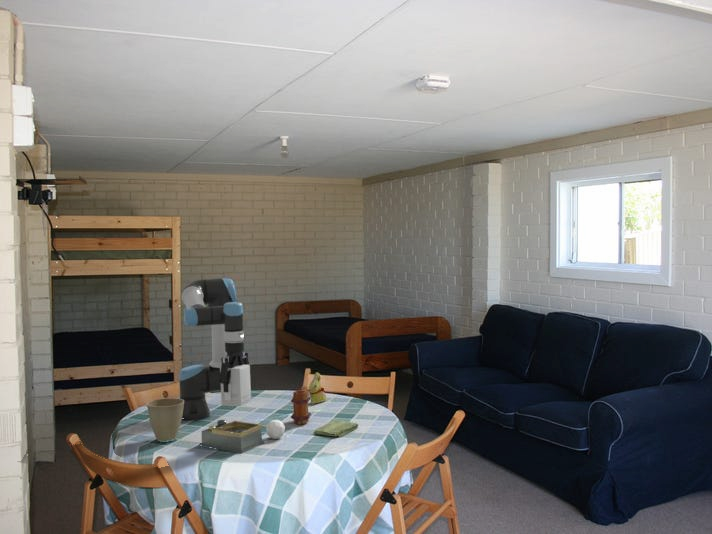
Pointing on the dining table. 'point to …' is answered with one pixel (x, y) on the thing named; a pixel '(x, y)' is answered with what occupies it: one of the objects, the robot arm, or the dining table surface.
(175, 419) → the plant pot
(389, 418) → the dining table surface
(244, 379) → the supplement box
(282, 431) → the geometric ball
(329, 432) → the washcloth
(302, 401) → the mug
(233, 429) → the grey and gold block
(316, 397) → the chocolate bunny
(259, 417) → the dining table surface
